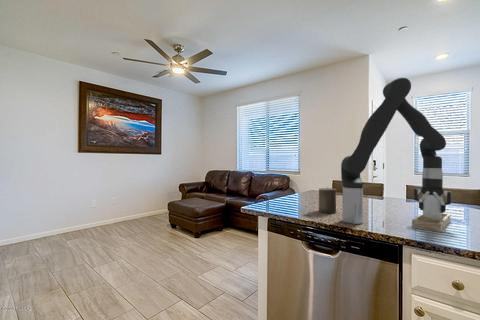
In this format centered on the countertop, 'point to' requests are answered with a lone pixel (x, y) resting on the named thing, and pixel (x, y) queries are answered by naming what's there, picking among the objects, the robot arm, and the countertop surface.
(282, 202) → the countertop surface
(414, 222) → the slotted rack
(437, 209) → the skincare box
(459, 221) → the countertop surface
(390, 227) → the countertop surface
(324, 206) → the pillar candle
